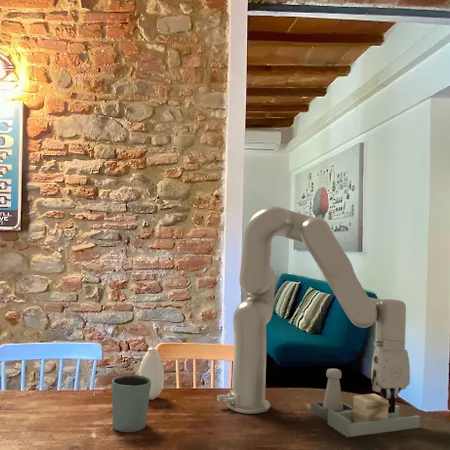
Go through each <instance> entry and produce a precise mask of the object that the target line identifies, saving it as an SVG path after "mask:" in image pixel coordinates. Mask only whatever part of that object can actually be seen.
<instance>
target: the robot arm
mask: <svg viewBox="0 0 450 450" xmlns="http://www.w3.org/2000/svg"><path fill="white" fill-rule="evenodd" d="M274 237H283V238H286V239H289V240H293V241H296V242H300V243H303V244H304V246H305V248H306V249H307V250H308V252H309V253H310V255H311V257H312V259H313V260H314V262H315V263H316V265H317V267H318V268H319V270H320V271H321V273H322V276H323V277H324V279H325V281H326V282H327V284H328V286H329V288H330V289H331V290H332V293H333V295H334V296H335V298H336V300H337V301H338V302H339V303H338V304H340V306H341V308H342V309H343V311H344V313H345V314H346V316H347V318H348V319H349V320H350V322H351V323H352V324H353V325H354V326H356V327H358V328H363V329H365V328H370V327H371V326H373V324H374V323H376V341H374V342H373V346H374V347H376V348H375V349H374V351H373V356H372V360H371V372H370V379H371V380H370V381H371V384H372V387H371V390H372V391H373V392H377V393H379V394H380V396H381V397H383V398H385V399H387V400H389V401H388V403H389V404H390V407H388V413H395V406H396V399H397V398H398V397H399V393H400V392H401V391H403V390H406V388H407V387H408V386H410V383H411V369H410V368H411V366H410V358H409V352H408V350H407V349H406V322H407V321H406V320H407V316H406V315H407V305H406V303H405V301H402V300H399V299H392V298H389V299H388V298H386V299H379V298H375V297H369V295H368V294H367V292H366V291H365V289H364V287H363V286H362V283H360V281H359V279H358V276H357V275H356V273H355V270H354V268H353V264H352V262H351V260H350V258H349V257H348V255H347V254H346V252H345V251H344V248H343V247H342V246H341V244H340V242H339V241H338V239H337V238H336V236H335V234H334V233H333V231H332V229H331V226H330V224H329V223H328V221H326V220H325V219H323V218H320V217H316V216H310V215H307V214H303V213H300V212H296V211H293V210H289V209H286V208H283V207H280V206H269V207H267V208H264V209H261V210H259V211H258V212H257V213H255V214H254V215H253V216H252V217H251V218H250V219H249V221H248V222H247V224H246V227H245V229H244V234H243V242H242V252H241V259H240V262H241V263H240V271H239V281H238V282H239V286H240V289H241V290H242V291H243V292H244V293H243V294H244V295H243V296H244V297H243V301H242V302H241V303H240V304H238V306H237V307H236V308H235V310H234V314H233V319H232V321H233V335H234V337H233V339H234V340H233V341H234V342H233V343H234V344H233V377H232V378H233V379H232V380H233V381H232V383H233V384H232V389H229V392H228V393H227V394H217V396H216V400H217V402H219V403H220V402H224V404H226V405H227V408H228V409H229V410H231V411H234V412H237V413H241V414H255V415H256V414H262V413H265V412H268V411H269V410H270V408H271V403H270V402H269V401H268V400H266V372H267V369H266V368H267V324H268V323H270V321H271V319H272V318H273V317H272V316H273V312H274V304H275V303H274V301H275V290H276V289H275V287H276V275H275V271H274V269H273V268H272V267H271V256H272V242H273V241H272V240H273V238H274Z"/></svg>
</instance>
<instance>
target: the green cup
mask: <svg viewBox="0 0 450 450" xmlns="http://www.w3.org/2000/svg"><path fill="white" fill-rule="evenodd" d="M111 386H112V387H111V389H112V390H111V392H112V393H111V394H112V396H111V397H112V398H111V399H112V401H111V403H112V405H111V407H112V428H113V429H114V430H116V431H118V432H122V433H133V432H137V431H141V430H143V429H145V428H146V425H147V417H148V411H149V410H148V409H149V401H150V400H149V393H150V387H151V379H150V378H148V377H144V376H139V375H138V374H137V375H136V374H134V375H133V374H127V375H126V374H125V375H119V376H115V377H114V378H112V380H111Z"/></svg>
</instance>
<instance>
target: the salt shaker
mask: <svg viewBox="0 0 450 450" xmlns="http://www.w3.org/2000/svg"><path fill="white" fill-rule="evenodd" d="M325 374H326V378H327V384H326V389H325V392H324V399H323V401H324V402H323V408H324V409H326V410H330V409H331V410H333V411H342V410H343V403H342V402H343V397H342V390H341V382H340V379H342V370H340V369H338V368H328V369H327V370H326V373H325Z"/></svg>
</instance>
